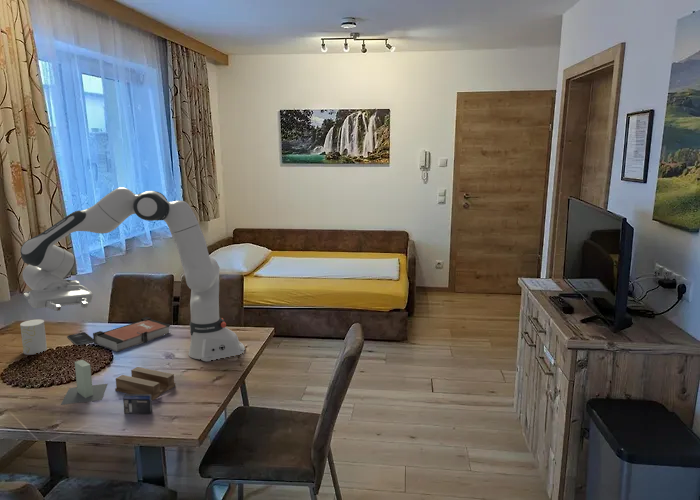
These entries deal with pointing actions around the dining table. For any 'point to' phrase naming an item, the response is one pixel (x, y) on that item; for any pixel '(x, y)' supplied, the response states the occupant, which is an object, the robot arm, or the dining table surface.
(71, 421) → the dining table surface
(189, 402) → the dining table surface
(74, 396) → the mat
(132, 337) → the book
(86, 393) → the tall sage green pillar
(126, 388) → the rack
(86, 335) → the smartphone
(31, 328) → the cup
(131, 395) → the mini dv tape
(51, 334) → the dining table surface
